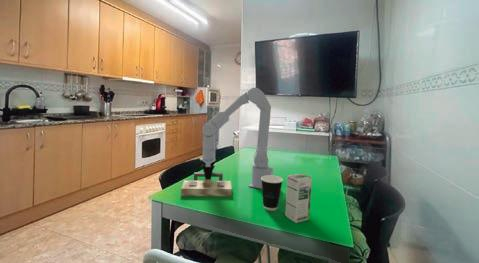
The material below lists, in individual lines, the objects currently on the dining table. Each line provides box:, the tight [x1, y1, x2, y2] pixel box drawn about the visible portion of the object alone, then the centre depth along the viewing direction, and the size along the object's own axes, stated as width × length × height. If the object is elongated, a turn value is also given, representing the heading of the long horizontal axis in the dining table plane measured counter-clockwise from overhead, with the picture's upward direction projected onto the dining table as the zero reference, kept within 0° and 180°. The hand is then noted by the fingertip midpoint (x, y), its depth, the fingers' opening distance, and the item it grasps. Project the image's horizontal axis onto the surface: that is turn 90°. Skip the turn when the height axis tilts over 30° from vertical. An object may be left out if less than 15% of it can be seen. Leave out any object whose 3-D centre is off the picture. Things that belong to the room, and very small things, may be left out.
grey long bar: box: [193, 171, 223, 181], centre depth 113 cm, size 13×2×4 cm, turn 95°
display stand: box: [180, 178, 233, 197], centre depth 102 cm, size 20×10×5 cm, turn 95°
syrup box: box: [285, 173, 313, 224], centre depth 81 cm, size 6×6×14 cm
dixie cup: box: [261, 174, 284, 212], centre depth 89 cm, size 8×8×11 cm
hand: (208, 178), depth 113 cm, fingers open, 6 cm apart
